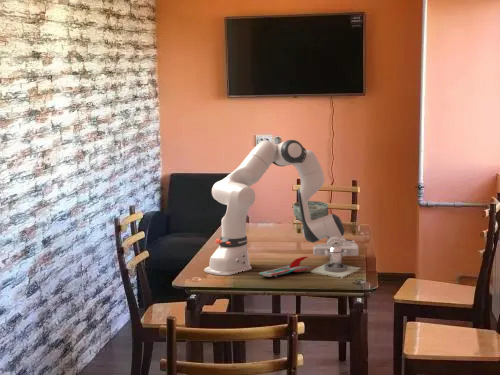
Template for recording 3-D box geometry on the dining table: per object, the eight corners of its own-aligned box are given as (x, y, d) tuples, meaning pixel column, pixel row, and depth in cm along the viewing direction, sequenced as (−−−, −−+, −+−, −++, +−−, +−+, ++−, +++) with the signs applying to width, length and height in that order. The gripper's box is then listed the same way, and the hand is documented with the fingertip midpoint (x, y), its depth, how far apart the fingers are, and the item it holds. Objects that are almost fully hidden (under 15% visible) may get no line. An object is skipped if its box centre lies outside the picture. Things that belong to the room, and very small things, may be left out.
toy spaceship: (270, 285, 305) (268, 273, 304) (253, 281, 314) (251, 269, 313) (317, 268, 322) (315, 256, 321) (300, 264, 331) (298, 253, 330)
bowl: (319, 236, 386) (319, 208, 384) (287, 232, 396) (287, 205, 394) (335, 228, 403) (335, 202, 400) (304, 225, 413) (304, 199, 410)
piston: (337, 271, 318) (337, 249, 316) (327, 269, 321) (327, 247, 319) (343, 268, 322) (343, 246, 320) (333, 266, 325) (333, 245, 323)
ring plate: (342, 278, 310) (342, 273, 310) (310, 272, 320) (310, 267, 319) (360, 269, 323) (360, 264, 322) (329, 264, 332) (329, 259, 332)
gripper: (313, 239, 333) (312, 247, 320) (358, 240, 331) (359, 248, 317) (313, 253, 334) (312, 261, 321) (358, 253, 332) (358, 262, 318)
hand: (335, 254), depth 319 cm, fingers closed on piston, 5 cm apart
